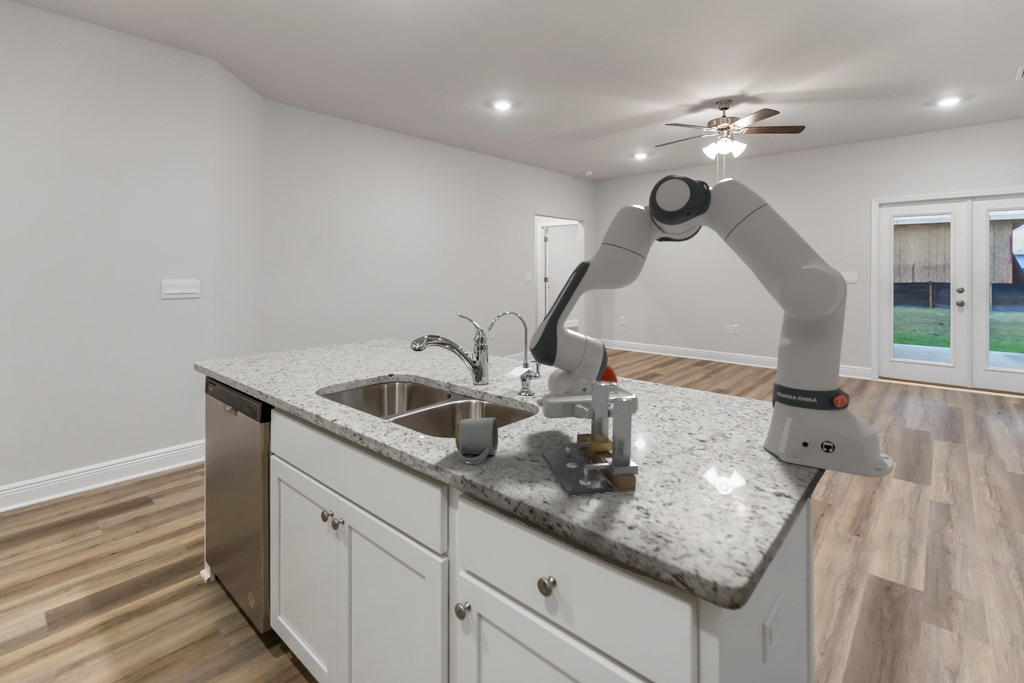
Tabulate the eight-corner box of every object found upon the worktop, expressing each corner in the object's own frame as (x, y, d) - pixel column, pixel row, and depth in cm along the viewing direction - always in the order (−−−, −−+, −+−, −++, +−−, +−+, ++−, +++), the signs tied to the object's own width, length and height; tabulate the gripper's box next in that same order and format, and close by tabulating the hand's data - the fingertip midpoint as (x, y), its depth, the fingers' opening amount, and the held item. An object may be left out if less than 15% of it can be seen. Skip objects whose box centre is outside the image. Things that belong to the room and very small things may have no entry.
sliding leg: (563, 453, 100) (563, 383, 98) (604, 450, 101) (606, 381, 99) (569, 461, 96) (570, 388, 94) (612, 458, 97) (614, 386, 95)
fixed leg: (579, 475, 89) (580, 398, 87) (627, 471, 91) (629, 396, 89) (587, 485, 85) (589, 404, 83) (637, 481, 86) (639, 402, 84)
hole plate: (541, 454, 103) (541, 450, 103) (578, 451, 104) (578, 447, 104) (569, 496, 84) (569, 490, 83) (613, 492, 85) (613, 487, 85)
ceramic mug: (462, 446, 108) (461, 412, 107) (498, 447, 108) (498, 413, 106) (451, 465, 98) (449, 428, 97) (491, 466, 97) (491, 429, 96)
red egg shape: (622, 401, 146) (623, 365, 145) (596, 402, 145) (597, 366, 143) (610, 394, 154) (611, 360, 153) (586, 396, 153) (586, 362, 151)
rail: (576, 445, 109) (577, 434, 108) (589, 444, 109) (590, 433, 109) (619, 491, 85) (619, 478, 85) (635, 490, 86) (635, 476, 85)
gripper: (534, 385, 108) (550, 401, 95) (622, 381, 112) (650, 396, 98) (534, 413, 109) (550, 433, 95) (622, 408, 112) (649, 426, 99)
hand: (601, 414), depth 97 cm, fingers closed on sliding leg, 3 cm apart
